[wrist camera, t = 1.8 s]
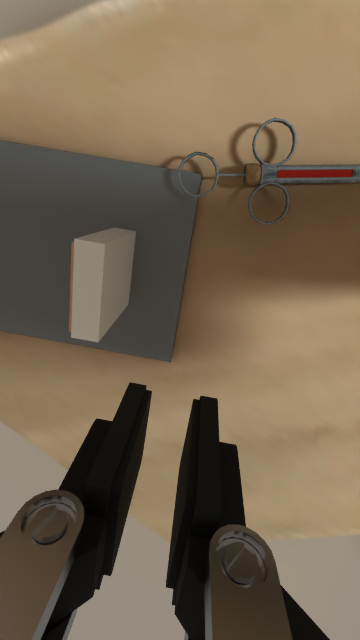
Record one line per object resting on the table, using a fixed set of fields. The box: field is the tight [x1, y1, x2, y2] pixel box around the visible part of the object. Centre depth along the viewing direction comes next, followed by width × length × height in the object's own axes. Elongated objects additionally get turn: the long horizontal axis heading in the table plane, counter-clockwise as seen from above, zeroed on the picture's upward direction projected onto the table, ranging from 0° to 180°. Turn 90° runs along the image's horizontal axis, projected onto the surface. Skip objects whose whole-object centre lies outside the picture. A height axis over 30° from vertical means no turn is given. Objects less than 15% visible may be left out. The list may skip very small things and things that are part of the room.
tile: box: [69, 228, 136, 342], centre depth 26 cm, size 2×7×9 cm, turn 171°
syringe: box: [178, 118, 360, 225], centre depth 25 cm, size 8×18×2 cm, turn 90°
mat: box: [0, 140, 202, 362], centre depth 30 cm, size 22×18×1 cm
